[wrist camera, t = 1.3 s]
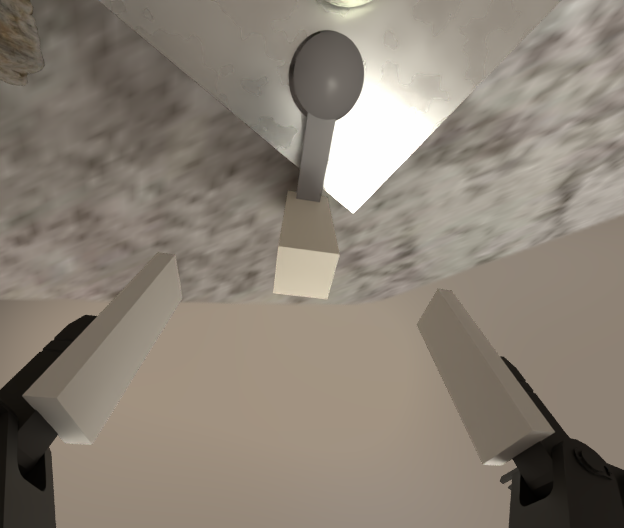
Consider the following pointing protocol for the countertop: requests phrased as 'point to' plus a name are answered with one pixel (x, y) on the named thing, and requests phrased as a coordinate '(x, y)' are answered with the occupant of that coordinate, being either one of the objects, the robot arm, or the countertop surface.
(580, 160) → the countertop surface
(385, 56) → the level plate
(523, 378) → the robot arm
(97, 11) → the countertop surface
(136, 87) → the countertop surface
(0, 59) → the rock
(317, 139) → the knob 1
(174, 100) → the countertop surface
